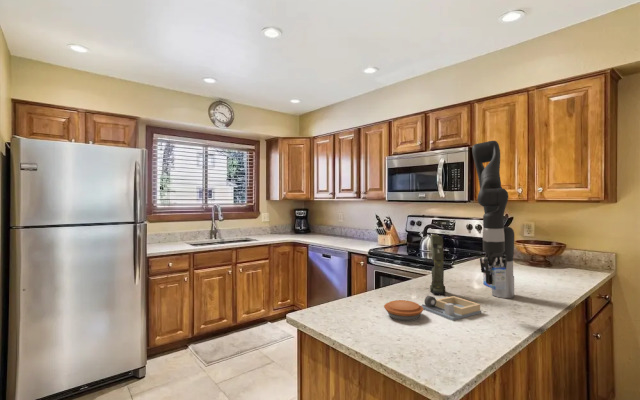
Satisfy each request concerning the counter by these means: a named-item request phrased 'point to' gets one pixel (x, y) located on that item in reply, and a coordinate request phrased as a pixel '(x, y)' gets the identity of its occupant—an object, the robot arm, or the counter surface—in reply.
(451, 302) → the chassis
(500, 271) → the medicine box
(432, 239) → the mechanical leg
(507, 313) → the counter surface
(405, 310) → the pie
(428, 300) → the wheel
